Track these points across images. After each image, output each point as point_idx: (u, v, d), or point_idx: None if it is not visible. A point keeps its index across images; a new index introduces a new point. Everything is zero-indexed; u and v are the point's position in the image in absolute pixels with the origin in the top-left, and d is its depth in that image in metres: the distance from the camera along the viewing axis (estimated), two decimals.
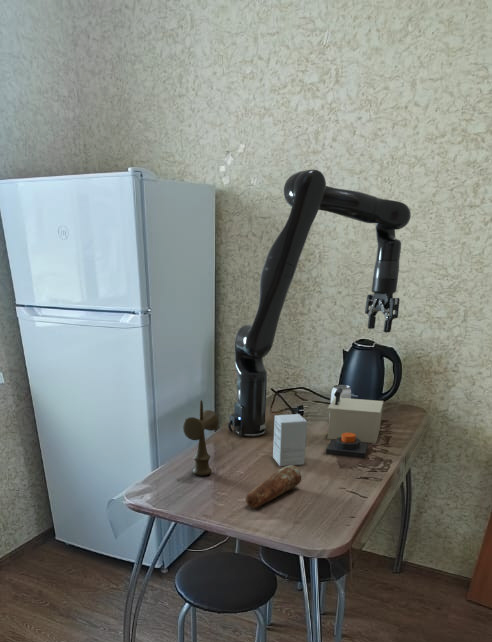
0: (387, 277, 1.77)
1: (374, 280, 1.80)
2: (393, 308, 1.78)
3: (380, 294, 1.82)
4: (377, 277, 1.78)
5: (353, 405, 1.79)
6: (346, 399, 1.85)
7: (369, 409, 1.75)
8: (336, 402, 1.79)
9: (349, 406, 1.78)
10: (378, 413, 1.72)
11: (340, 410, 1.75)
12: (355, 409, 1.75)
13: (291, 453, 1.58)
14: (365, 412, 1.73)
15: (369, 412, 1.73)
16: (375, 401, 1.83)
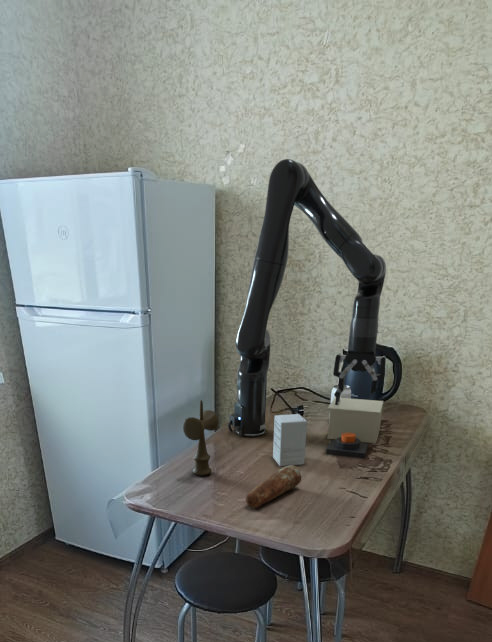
0: (374, 335, 1.58)
1: (360, 340, 1.57)
2: (384, 367, 1.61)
3: (361, 354, 1.61)
4: (365, 336, 1.57)
5: (353, 405, 1.79)
6: (346, 399, 1.85)
7: (369, 409, 1.75)
8: (336, 402, 1.79)
9: (349, 406, 1.78)
10: (378, 413, 1.72)
11: (340, 410, 1.75)
12: (355, 409, 1.75)
13: (291, 452, 1.58)
14: (365, 412, 1.73)
15: (369, 412, 1.73)
16: (375, 401, 1.83)
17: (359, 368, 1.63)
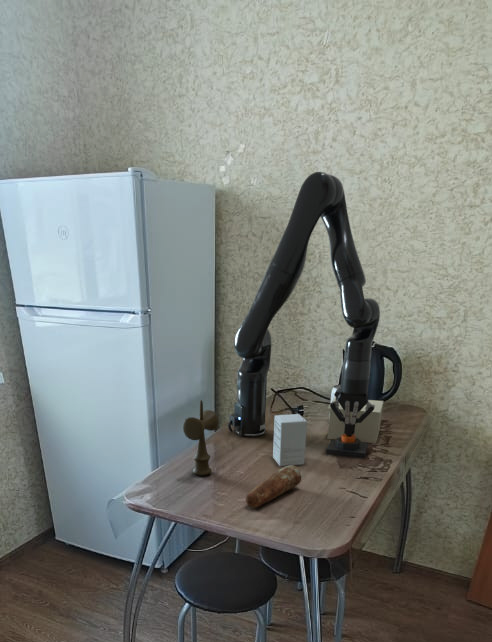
0: (367, 378, 1.58)
1: (352, 382, 1.57)
2: (367, 415, 1.63)
3: (353, 395, 1.61)
4: (357, 379, 1.57)
5: None
6: None
7: None
8: None
9: None
10: (378, 413, 1.72)
11: (340, 410, 1.75)
12: None
13: (291, 452, 1.58)
14: None
15: None
16: (375, 401, 1.83)
17: (351, 409, 1.63)
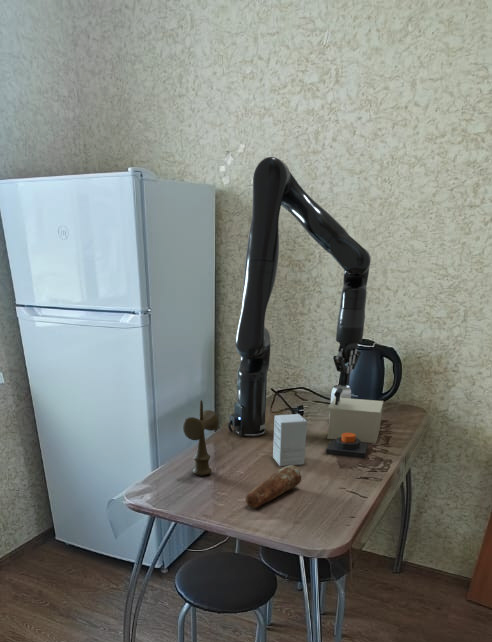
0: None
1: (361, 330, 1.63)
2: None
3: (352, 344, 1.66)
4: (363, 326, 1.63)
5: (353, 405, 1.79)
6: (346, 399, 1.85)
7: (369, 409, 1.75)
8: (336, 402, 1.79)
9: (349, 406, 1.78)
10: (378, 413, 1.72)
11: (340, 410, 1.75)
12: (355, 409, 1.75)
13: (291, 452, 1.58)
14: (365, 412, 1.73)
15: (369, 412, 1.73)
16: (375, 401, 1.83)
17: None
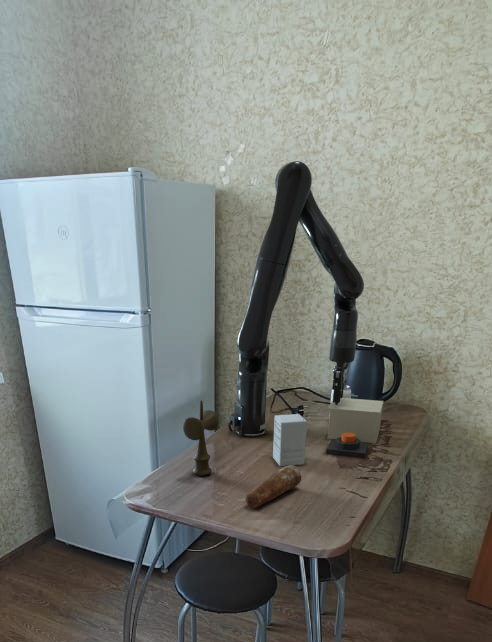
0: None
1: None
2: None
3: None
4: (355, 345, 1.73)
5: (353, 405, 1.79)
6: (346, 399, 1.85)
7: (369, 409, 1.75)
8: None
9: (349, 406, 1.78)
10: (378, 413, 1.72)
11: (340, 410, 1.75)
12: (355, 409, 1.75)
13: (291, 452, 1.58)
14: (365, 412, 1.73)
15: (369, 412, 1.73)
16: (375, 401, 1.83)
17: None
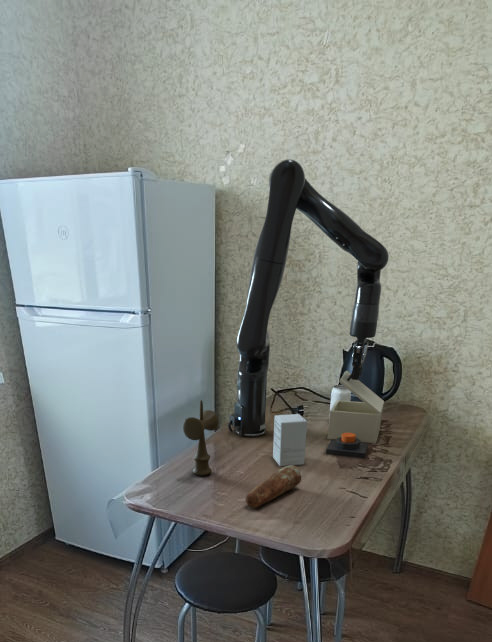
0: None
1: (376, 324, 1.68)
2: None
3: (365, 338, 1.71)
4: None
5: (361, 390, 1.76)
6: None
7: (373, 403, 1.74)
8: (349, 378, 1.75)
9: (357, 389, 1.75)
10: (378, 412, 1.72)
11: (349, 389, 1.72)
12: (362, 396, 1.73)
13: (291, 453, 1.58)
14: (369, 404, 1.72)
15: (372, 406, 1.72)
16: (378, 397, 1.82)
17: None
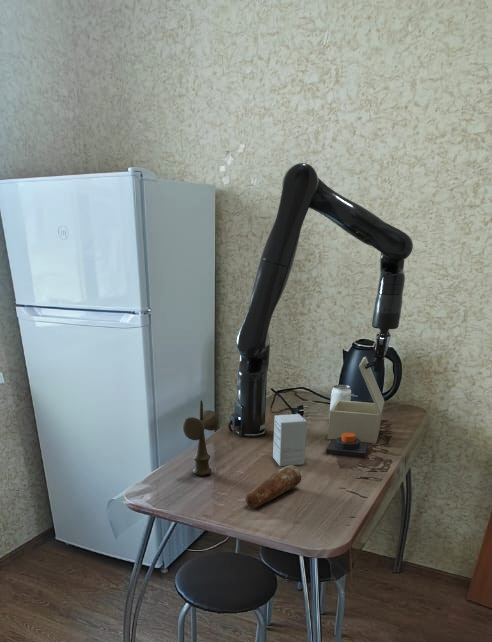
0: None
1: (399, 315, 1.65)
2: None
3: None
4: None
5: (372, 383, 1.74)
6: (370, 369, 1.79)
7: (377, 401, 1.73)
8: (367, 367, 1.72)
9: (370, 381, 1.73)
10: (379, 412, 1.72)
11: (364, 377, 1.69)
12: (372, 390, 1.71)
13: (291, 452, 1.58)
14: (374, 400, 1.71)
15: (376, 404, 1.71)
16: (381, 395, 1.82)
17: None
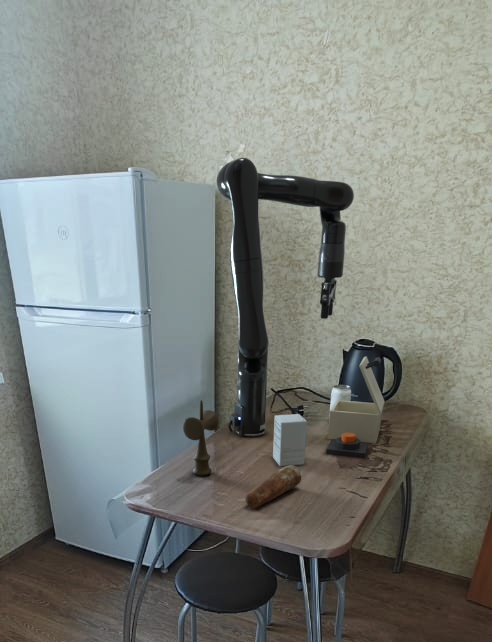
0: None
1: (343, 264, 1.73)
2: None
3: (333, 279, 1.76)
4: (343, 260, 1.73)
5: (372, 383, 1.74)
6: (370, 369, 1.79)
7: (377, 401, 1.73)
8: (368, 367, 1.71)
9: (370, 381, 1.73)
10: (379, 412, 1.72)
11: (365, 377, 1.69)
12: (372, 389, 1.71)
13: (291, 453, 1.58)
14: (374, 400, 1.71)
15: (376, 404, 1.71)
16: (381, 395, 1.82)
17: None
